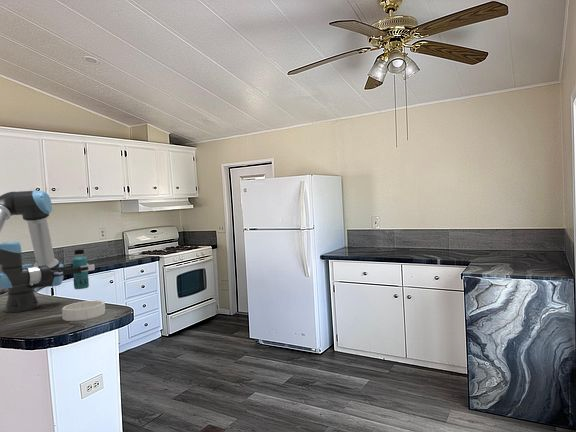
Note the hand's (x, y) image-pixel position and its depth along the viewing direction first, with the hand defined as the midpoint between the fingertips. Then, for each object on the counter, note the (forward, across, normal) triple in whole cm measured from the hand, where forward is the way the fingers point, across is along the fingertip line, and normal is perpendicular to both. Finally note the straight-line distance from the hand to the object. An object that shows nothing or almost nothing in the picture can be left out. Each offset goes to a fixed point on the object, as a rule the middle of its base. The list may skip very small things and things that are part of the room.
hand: (91, 266), depth 201 cm
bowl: (-5, 0, -23) cm, 23 cm away
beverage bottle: (-5, 0, -11) cm, 12 cm away
